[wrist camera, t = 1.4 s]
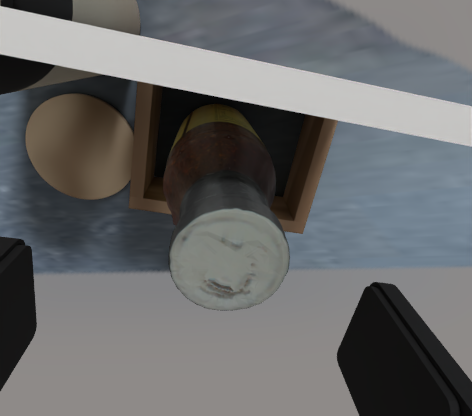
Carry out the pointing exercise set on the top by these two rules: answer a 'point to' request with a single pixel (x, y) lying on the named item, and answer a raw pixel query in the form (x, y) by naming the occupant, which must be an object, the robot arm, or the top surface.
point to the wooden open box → (285, 208)
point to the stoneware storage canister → (72, 9)
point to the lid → (228, 76)
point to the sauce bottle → (223, 212)
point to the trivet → (80, 146)
